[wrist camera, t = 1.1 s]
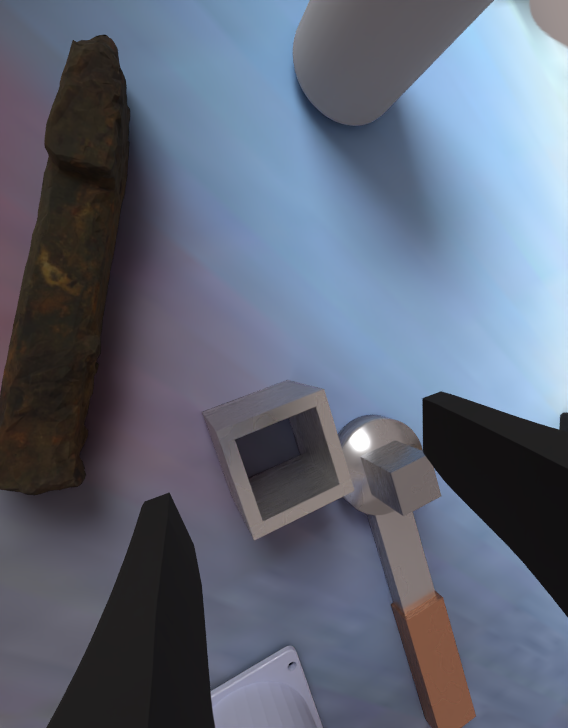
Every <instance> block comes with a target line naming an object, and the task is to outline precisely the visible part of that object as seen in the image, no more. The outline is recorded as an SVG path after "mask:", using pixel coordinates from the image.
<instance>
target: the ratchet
mask: <svg viewBox="0 0 568 728" xmlns="http://www.w3.org/2000/svg"><path fill="white" fill-rule="evenodd" d="M338 437H339V441H340V444H341V447H342V451H343V454H344V457H345V460H346V464H347V467H348V470H349V474H350V477H351V480H352V484H353V487H354V490H355V491H353V492H351V493H349V494H347V495H345V496H343V497H342V498H344V499H345V500H346V501H347V502H349V503H350V504H351V505H352V506H354V507H355V508H356V509H358V510H359V511H361V512H363V513H366V514H367V516H368V519H369V523H370V526H371V529H372V533H373V536H374V539H375V543H376V546H377V549H378V553H379V556H380V559H381V563H382V566H383V569H384V573H385V576H386V579H387V583H388V586H389V589H390V593H391V596H392V599H393V603H392V604H391V606H392V609H393V613H394V616H395V619H396V623H397V626H398V629H399V633H400V636H401V639H402V643H403V646H404V649H405V653H406V656H407V659H408V663H409V666H410V669H411V673H412V676H413V679H414V683H415V686H416V689H417V693H418V696H419V699H420V702H421V706H422V709H423V712H424V716H425V719H426V720H427V722H428V723H429V725H430V726H431V727H432V728H461V727H463V726H464V725H465V724H467V723H468V722H469V721H470V720H472V719H473V718H474V717H476V715H475V711H474V707H473V704H472V700H471V697H470V693H469V689H468V686H467V682H466V679H465V675H464V671H463V668H462V664H461V661H460V657H459V653H458V650H457V646H456V643H455V639H454V635H453V632H452V628H451V625H450V621H449V618H448V614H447V610H446V607H445V603H444V600H443V597H442V596H441V595H439V594H438V593H437V592H436V591H435V590H434V587H433V583H432V579H431V576H430V572H429V569H428V565H427V562H426V558H425V554H424V551H423V547H422V544H421V540H420V537H419V533H418V530H417V526H416V522H415V519H414V515H413V511H415V510H416V509H418V508H420V507H422V506H424V505H426V504H428V503H429V502H431V501H433V500H435V499H437V498H439V497H440V496H441V493H440V489H439V486H438V482H437V478H436V474H435V471H434V467H433V466H432V464H431V463H430V462H429V460H428V459H427V457H426V456H425V455H424V453H423V450H422V447H421V444H420V441H419V439H418V437H417V436H416V434H415V433H414V432H413V431H412V429H410V428H409V427H408V426H407V425H405V424H404V423H402V422H399V421H397V420H393V419H390V418H387V417H384V416H380V415H365V416H361V417H358V418H356V419H354V420H352V421H351V422H349V423H348V424H347V425H346V426H344V427H343V428H342V430H341V431H340V432H339V433H338Z"/></svg>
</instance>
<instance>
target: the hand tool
mask: <svg viewBox="0 0 568 728" xmlns="http://www.w3.org/2000/svg"><path fill="white" fill-rule="evenodd" d="M126 88H127V87H126V79H125V77H124V75H123V72H122V70H121V68H120V64H119V57H118V49H117V47H116V45H115V43H114V42H113V40H112V39H111V38H109V37H108V36H107V35H99V36H96V37H94V38H92V39H90V40H81V41H79V42H76V41H74V40H73V41H72V45H71V48H70V52H69V55H68V59H67V62H66V65H65V68H64V70H63V73H62V76H61V80H60V87H59V90H58V93H57V95H56V98H55V100H54V103H53V106H52V109H51V111H50V114H49V118H48V121H47V124H46V132H45V148H46V150H47V152H48V155H49V158H48V162H47V166H46V169H45V172H44V178H43V184H42V191H41V198H40V204H39V209H38V218H37V222H36V226H35V229H34V231H33V234H32V240H31V247H30V251H29V256H28V260H27V263H26V266H25V271H24V275H23V280H22V286H21V291H20V296H19V301H18V306H17V311H16V315H15V320H14V324H13V331H12V336H11V340H10V345H9V351H8V357H7V362H6V365H5V369H4V375H3V380H2V387H1V394H0V489H1V490H7V491H15V492H22V493H24V494H28V495H38V494H42V493H45V492H48V491H52V490H62V489H65V488H69V487H78V486H79V485H81V484H82V482H83V481H84V479H85V476H86V473H85V470H84V469H85V468H84V465H83V461H82V460H81V458H80V457H79V455H80V451H81V449H82V447H83V445H84V443H85V441H86V439H87V436H88V430H87V429H86V427H85V426H84V423H85V418H86V416H87V413H88V408H89V403H90V398H91V396H92V394H93V387H94V375H95V374H96V372H97V369H98V365H99V364H98V363H97V362H96V361H97V358H98V357H99V355H100V353H101V341H100V335H101V330H102V320H103V314H104V307H105V302H106V296H107V289H108V283H109V276H110V269H111V263H112V259H113V255H114V249H115V242H116V236H117V230H118V224H119V217H120V210H121V204H122V201H123V198H124V194H125V186H126V180H127V168H128V155H129V141H128V136H129V121H130V109H129V107H128V106H127V95H126Z"/></svg>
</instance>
